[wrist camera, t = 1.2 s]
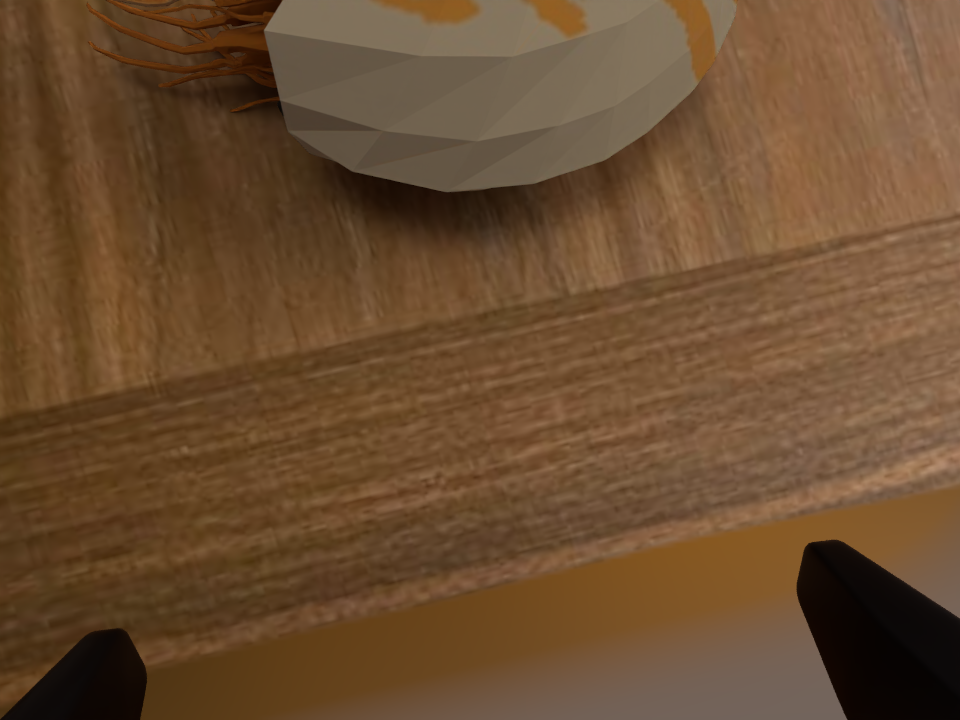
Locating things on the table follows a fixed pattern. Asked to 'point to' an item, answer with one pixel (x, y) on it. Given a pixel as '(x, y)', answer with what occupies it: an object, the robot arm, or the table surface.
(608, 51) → the nautilus
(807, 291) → the table surface
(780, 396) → the table surface
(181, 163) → the table surface
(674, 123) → the table surface
